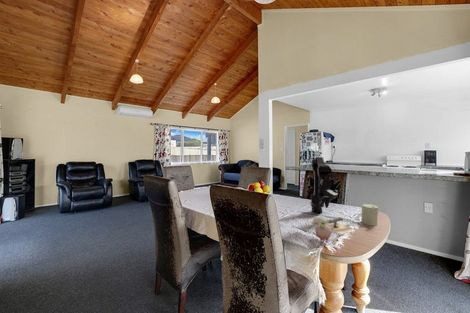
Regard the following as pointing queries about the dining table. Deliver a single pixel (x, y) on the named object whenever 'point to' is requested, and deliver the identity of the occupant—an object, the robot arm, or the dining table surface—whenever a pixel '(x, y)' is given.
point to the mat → (298, 228)
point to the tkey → (336, 221)
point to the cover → (321, 219)
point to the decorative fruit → (323, 231)
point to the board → (338, 229)
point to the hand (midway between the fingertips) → (322, 209)
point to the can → (369, 214)
